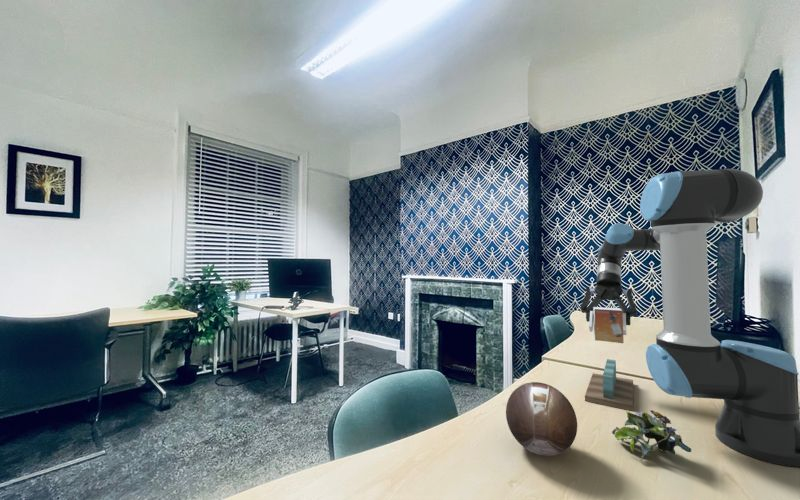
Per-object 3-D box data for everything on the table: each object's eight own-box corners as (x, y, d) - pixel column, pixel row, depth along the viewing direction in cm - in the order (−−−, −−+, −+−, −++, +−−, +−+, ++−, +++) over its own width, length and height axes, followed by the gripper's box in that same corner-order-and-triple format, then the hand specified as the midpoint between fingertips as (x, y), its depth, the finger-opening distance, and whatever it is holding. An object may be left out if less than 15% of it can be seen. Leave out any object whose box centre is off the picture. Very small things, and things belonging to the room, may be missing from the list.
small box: (594, 341, 106) (593, 308, 106) (593, 337, 111) (592, 306, 111) (624, 343, 102) (623, 310, 102) (621, 339, 107) (620, 307, 107)
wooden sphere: (514, 469, 68) (512, 396, 68) (501, 431, 82) (500, 372, 83) (590, 474, 66) (588, 399, 66) (563, 434, 80) (561, 374, 81)
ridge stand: (632, 411, 92) (631, 382, 93) (584, 400, 99) (584, 374, 100) (633, 384, 112) (632, 360, 112) (593, 377, 119) (592, 355, 119)
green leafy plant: (662, 475, 73) (703, 444, 68) (639, 484, 67) (683, 450, 63) (619, 427, 82) (653, 397, 77) (596, 431, 76) (631, 398, 72)
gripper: (645, 286, 113) (648, 341, 100) (576, 284, 126) (571, 333, 112) (645, 271, 109) (648, 327, 96) (574, 270, 121) (568, 320, 108)
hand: (607, 330), depth 104 cm, fingers closed on small box, 8 cm apart
